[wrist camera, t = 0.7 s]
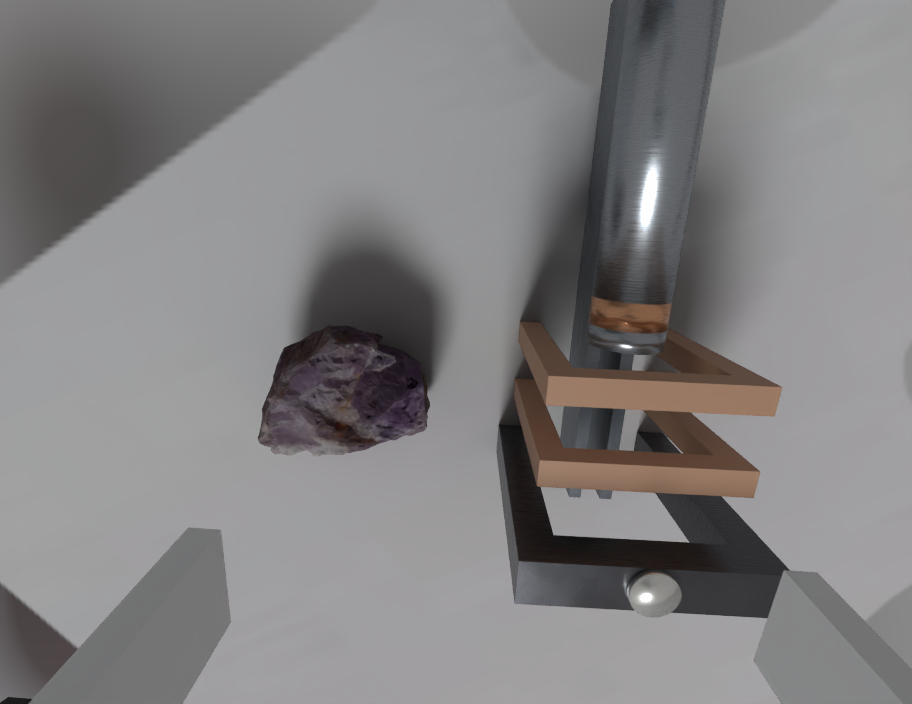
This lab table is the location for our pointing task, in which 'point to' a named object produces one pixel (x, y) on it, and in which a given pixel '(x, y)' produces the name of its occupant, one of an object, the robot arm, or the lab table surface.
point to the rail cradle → (588, 422)
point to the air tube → (651, 169)
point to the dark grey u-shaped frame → (634, 551)
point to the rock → (342, 395)
